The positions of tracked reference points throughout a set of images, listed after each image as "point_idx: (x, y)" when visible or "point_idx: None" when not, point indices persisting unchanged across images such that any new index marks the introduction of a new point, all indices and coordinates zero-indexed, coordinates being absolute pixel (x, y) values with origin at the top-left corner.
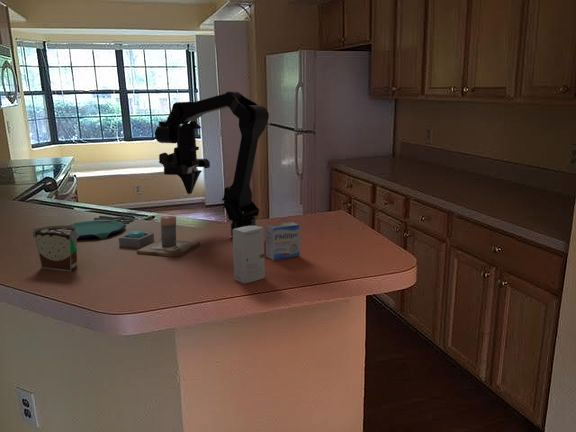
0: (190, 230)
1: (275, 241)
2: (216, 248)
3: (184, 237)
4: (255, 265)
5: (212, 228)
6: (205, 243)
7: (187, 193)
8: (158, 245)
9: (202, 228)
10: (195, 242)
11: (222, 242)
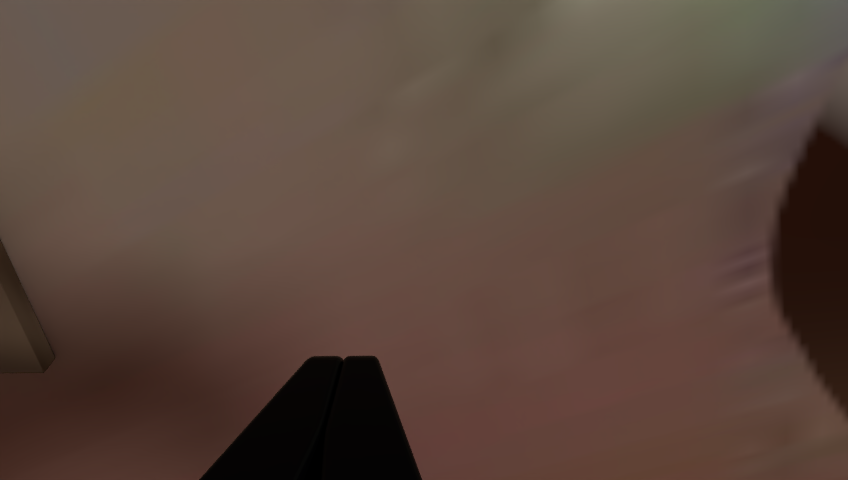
0: (404, 64)
1: None
2: (61, 459)
3: (152, 148)
4: None
5: (535, 232)
6: (108, 369)
7: (305, 362)
8: None
9: (515, 144)
10: (17, 348)
11: (189, 443)
